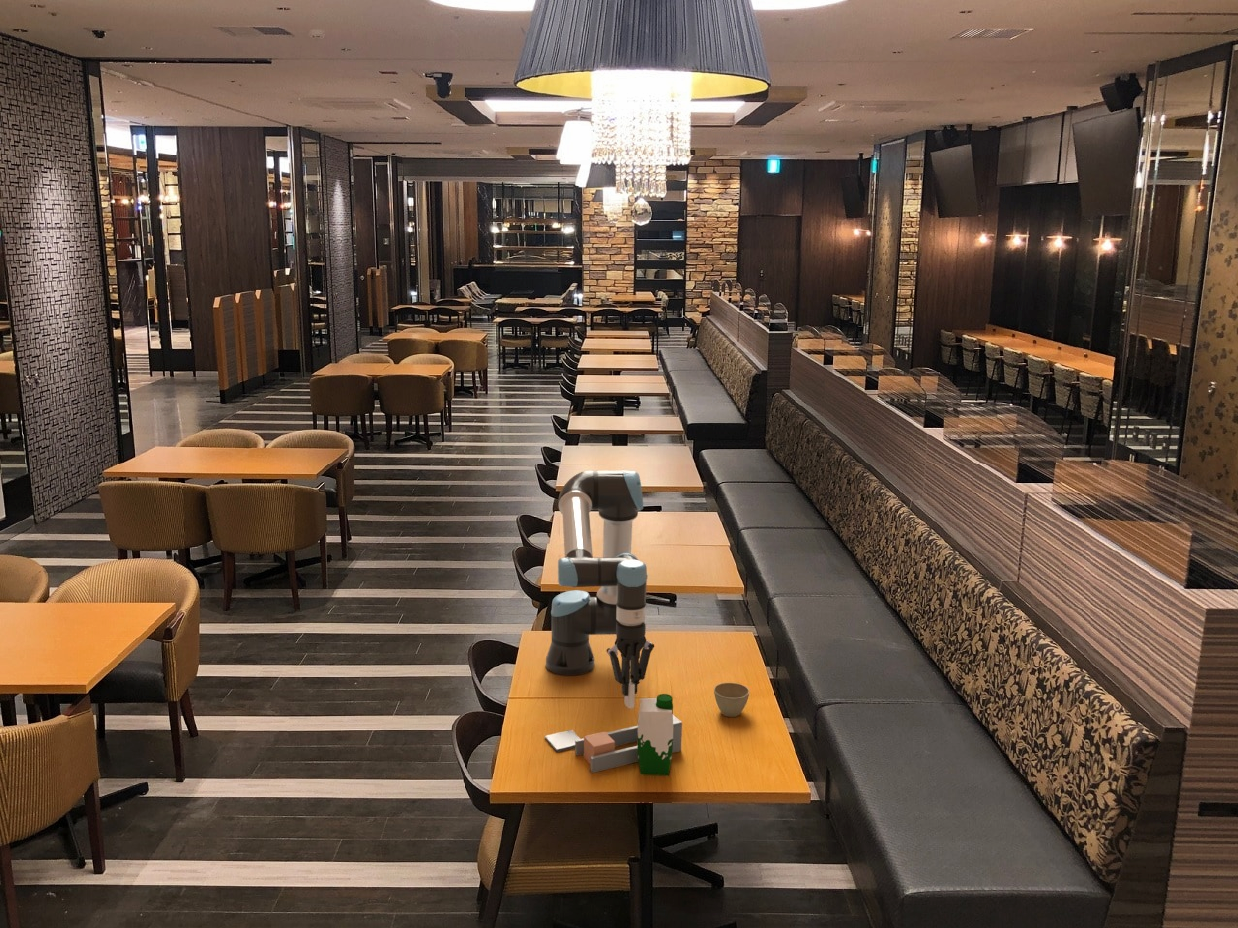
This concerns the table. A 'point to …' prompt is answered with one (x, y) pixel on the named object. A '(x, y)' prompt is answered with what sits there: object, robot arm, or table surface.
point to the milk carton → (655, 735)
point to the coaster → (562, 740)
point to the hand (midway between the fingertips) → (629, 705)
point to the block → (597, 745)
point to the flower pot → (731, 698)
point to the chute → (626, 754)
